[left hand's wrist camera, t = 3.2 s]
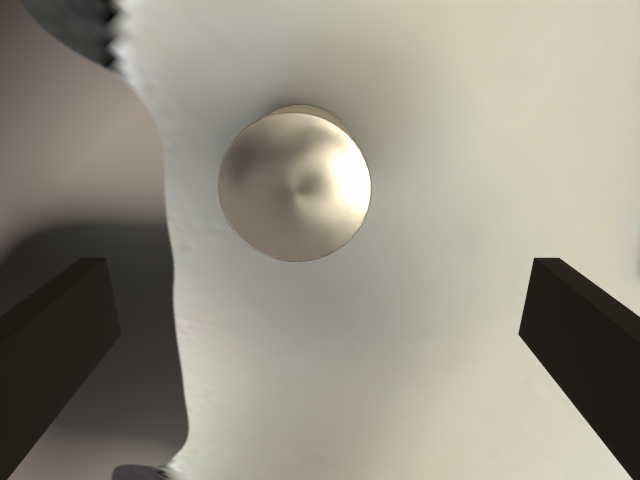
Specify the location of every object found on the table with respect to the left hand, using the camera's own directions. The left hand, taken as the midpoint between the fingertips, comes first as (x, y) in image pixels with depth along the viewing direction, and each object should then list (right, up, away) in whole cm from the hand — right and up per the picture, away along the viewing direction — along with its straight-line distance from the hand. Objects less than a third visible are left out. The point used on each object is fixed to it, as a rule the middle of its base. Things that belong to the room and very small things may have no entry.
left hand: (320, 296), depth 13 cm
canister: (-1, +8, +18) cm, 20 cm away
